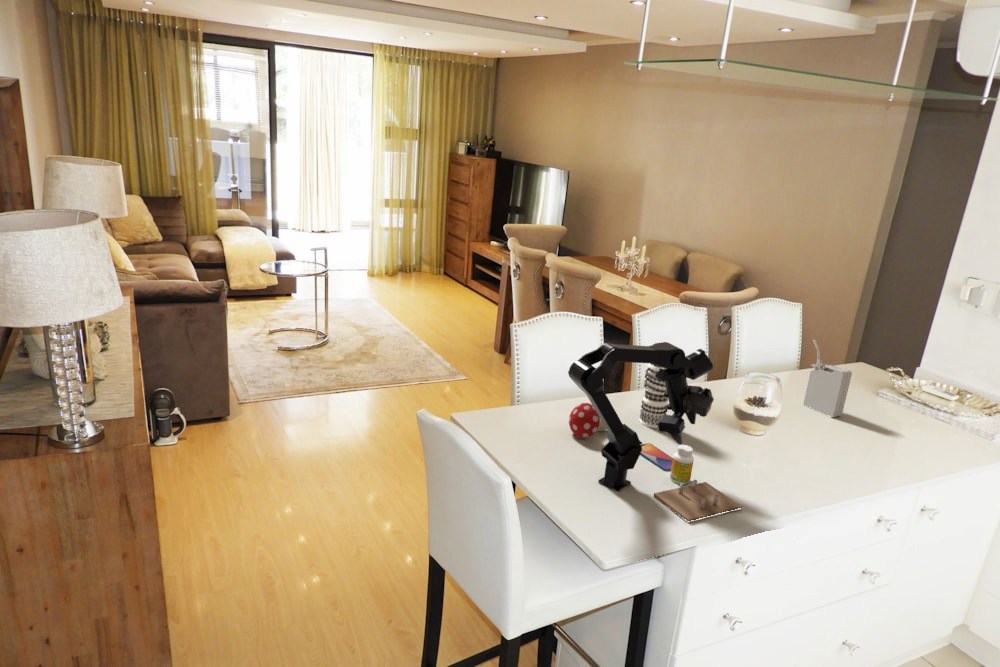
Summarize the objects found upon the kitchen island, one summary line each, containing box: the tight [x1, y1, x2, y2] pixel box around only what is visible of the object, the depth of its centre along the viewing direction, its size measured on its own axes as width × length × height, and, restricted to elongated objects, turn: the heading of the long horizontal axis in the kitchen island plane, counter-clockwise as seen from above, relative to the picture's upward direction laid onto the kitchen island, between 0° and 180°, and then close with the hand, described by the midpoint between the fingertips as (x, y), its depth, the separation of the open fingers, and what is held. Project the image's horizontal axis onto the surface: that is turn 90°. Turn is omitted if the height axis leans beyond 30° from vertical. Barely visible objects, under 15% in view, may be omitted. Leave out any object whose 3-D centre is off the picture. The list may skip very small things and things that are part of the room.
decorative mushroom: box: [568, 402, 607, 439], centre depth 206 cm, size 11×11×15 cm
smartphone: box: [640, 442, 673, 472], centre depth 195 cm, size 7×15×1 cm, turn 29°
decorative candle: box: [638, 363, 669, 429], centre depth 216 cm, size 9×9×25 cm
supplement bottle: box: [669, 444, 695, 485], centre depth 181 cm, size 5×5×10 cm
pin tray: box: [653, 479, 743, 521], centre depth 171 cm, size 18×13×4 cm
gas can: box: [803, 338, 853, 418], centre depth 240 cm, size 15×5×25 cm, turn 26°
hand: (686, 433), depth 183 cm, fingers open, 9 cm apart
